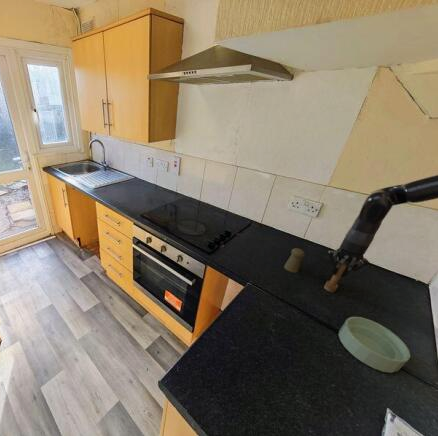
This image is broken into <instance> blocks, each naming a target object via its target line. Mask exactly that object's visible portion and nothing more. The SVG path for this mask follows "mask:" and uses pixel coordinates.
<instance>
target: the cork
mask: <svg viewBox="0 0 438 436" xmlns="http://www.w3.org/2000/svg"><path fill="white" fill-rule="evenodd" d="M305 255H306V253H305V251H304V250H303V249H301V248H299V247H295V248H294V247H293V248H292V249H291V255H290V256H289V258H288V259H287V261H286V262H285V264H284V265H283V268H284V269H285V270H286V271H288V272H289V273H292V274H293V273H294V274H295V273H298V272H299V269H300V265H301V262H302V258H304V257H305Z"/></svg>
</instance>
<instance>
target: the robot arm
mask: <svg viewBox="0 0 438 436" xmlns="http://www.w3.org/2000/svg"><path fill="white" fill-rule="evenodd" d="M436 199H437V200H438V174H436V175H432V176H427V177H424V178H420V179H416V180H413V181H410V182H406V183H402V184H397V185H391V186H387V187H381V188H379V189H376V190H373V191H372V192H370V193H369V195H368V196H367V197H366V198H365V200H364V202H363V204H362V206H361V209H360V210H359V213H358V214H357V216H356V218H355V219H354V221H353V223H352V225H351V227H350V228H349V229H348V230H347V233H346V234H345V236H344V238H343V240H342V241H341V244H340V246H339V247H338V248H336V249H335V250H331V249H328V250H327V253H328V260H329V263H330V265H331V266H332V268H331V269H330V271H331V274H332V276H333V275H336V273H337V271H338V269H339V267H340V266H341V264H344V263H345V265H346V266H347V267H346V269H345V271H344V272H343V274H342V276H341V277H340V278H345V277H347V276H348V275H349V273H350V272H351V271H354V272H357V271H359V270H361V269H362V268H364V267H366V266H368V265H370V261H369V260H368V259H367V258H365V257H364V255H365V254H366V252H367V251H368V249H369V248H370V246H371V244H372V243H373V241H374V239H375V236H376V234H377V233H378V232H379V229H380V227H381V226H382V223H383V221H384V219H385V218H386V217H387V215H388V214H389V212H390V211H391V210H392V208H393V206H398V205H403V204H407V203H408V204H409V203H411V204H417V203H423V202H427V201H433V200H436ZM336 255H337V257H336ZM335 257H336V260H335Z"/></svg>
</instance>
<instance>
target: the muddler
mask: <svg viewBox="0 0 438 436" xmlns="http://www.w3.org/2000/svg"><path fill="white" fill-rule="evenodd" d="M346 267H347V266H346V264H344V263H343V264H341V266H340V267H339V269H338V271H337V273H336V275H333V274H332V276H331V278H330V280H326V282H325V284H324V286H323V288H324V289H325V290H326V291H327V292H330V293H336V291H337V289H338V288H339V285H338V282H339V281H340V280H341V278H342V277H341V276H342V274H343V272H344V271H345V269H346Z"/></svg>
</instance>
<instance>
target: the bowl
mask: <svg viewBox="0 0 438 436" xmlns="http://www.w3.org/2000/svg"><path fill="white" fill-rule="evenodd" d="M338 339H339V340H340V342H341V344H342V345H343V347H344V348H345V350H347V351H348V352H349V353H350V354H351V355H352V356H353V357H354V358H356V360H359V361H360V362H361V363H363V364H365V365H366V366H368V367H370V368H372V369H375V370H377V371H379V372H380V371H381V372H383V373H389V374H392V373H396V372H398V371H400V369H401V368H402V367H403V366H404V365H405V364H406V363H407V362H409V360H410V358H411V352H410V349H409V348H408V346H407V344H406V343H405V342H404V341H403V340H402V339H401V338H400V337H399V336H398V335H396V334H395V333H394V332H393V331H391V330H390V329H388V328H387V327H385V326H384V325H382V324H380V323H378V322H375V321H374V320H371V319H370V318H369V319H368V318H365V317H361V316H349V317H348V318H346V320H345V321H344V323H343V324H342V326H341V327H340V328H339V330H338Z"/></svg>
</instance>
